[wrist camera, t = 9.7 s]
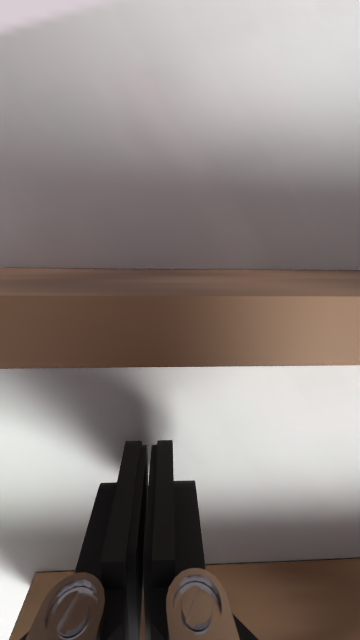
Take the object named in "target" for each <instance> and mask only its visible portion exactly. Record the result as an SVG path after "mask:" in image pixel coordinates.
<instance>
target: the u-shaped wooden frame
mask: <svg viewBox="0 0 360 640" xmlns="http://www.w3.org/2000/svg"><path fill="white" fill-rule="evenodd" d="M319 365H360V271H359V270H227V269H95V268H0V369H8V368H111V367H215V366H319ZM205 570H207V571H209V572H210V573H211V574H213V575H214V576H216V578H217V579H218V580H219V581H220V583H221V584H222V586H223V588H224V590H225V592H226V595H227V598H228V601H229V605H230V608H231V612H232V613H233V614H234V615H235V616H236V617H237V618H238V619H239V620H240V621H241V622H242V623H243V624H244V625H245V626H246V627H247V628H248V629H249V630H250V631H251V632H252V633H253V634H254V635H255V636H256V637H257V639H258V640H360V558H356V559H334V560H311V561H289V562H267V563H244V564H222V565H205ZM72 574H75V571H66V572H44V573H35V575H34V578H33V580H32V583H31V586H30V588H29V591H28V593H27V596H26V598H25V601H24V603H23V606H22V608H21V611H20V613H19V616H18V618H17V621H16V623H15V626H14V628H13V631H12V633H11V636H10V638H9V640H20V639H21V638H22V637H23V636H24V635H25V634H26V633H27V632H28V631H29V630H30V628H31V626H32V624H33V622H34V620H35V618H36V615H37V613H38V611H39V609H40V607H41V605H42V603H43V601H44V600H45V598H46V596H47V595H48V593H49V592H50V591H51V589H52V588H53V587H54V586H55V585H56V584H57V583H58V582H60V581H61V580H63V579H64V578H65V577H67V576H69V575H72ZM139 640H145V617H144V586H143V597H142V611H141V625H140V639H139Z"/></svg>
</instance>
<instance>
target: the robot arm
mask: <svg viewBox="0 0 360 640" xmlns="http://www.w3.org/2000/svg"><path fill="white" fill-rule="evenodd" d="M143 586H144V617H145V640H258V639H257V637H256V636H255V635H254V634H253V633H252V632H251V631H250V630H249V629H248V628H247V627H246V626H245V625H244V624H243V623H242V622H241V621H240V620H239V619H238V618H237V617H236V616H235V615H234V614H233V613H232V612H231V608H230V605H229V601H228V598H227V595H226V592H225V590H224V588H223V586H222V584H221V583H220V581H219V580H218V579H217V578H216V576H214V575H213V574H211V573H210V572H209V571H207V570H205V562H204V553H203V545H202V536H201V528H200V519H199V510H198V502H197V493H196V485H195V481H173V443H172V440H160V441H158V443H157V445H152V447H151V459H150V472H149V485H148V457H147V445H142V442H141V441H126V443H125V448H124V452H123V457H122V462H121V466H120V471H119V476H118V481H117V483H101V484H100V486H99V489H98V492H97V496H96V499H95V503H94V506H93V510H92V513H91V517H90V520H89V524H88V528H87V531H86V535H85V538H84V542H83V545H82V549H81V552H80V556H79V559H78V563H77V566H76V570H75V574H72V575H69V576H67V577H65V578H64V579H63V580H61V581H60V582H58V583H57V584H56V585H55V586H54V587H53V588H52V589H51V591H50V592H49V593H48V595H47V596H46V598H45V600H44V601H43V603H42V605H41V607H40V609H39V611H38V613H37V615H36V618H35V620H34V622H33V624H32V626H31V628H30V630H29V631H28V632H27V633H26V634H25V635H24V636H23V637H22V638H21V639H20V640H139V639H140V625H141V611H142V597H143Z"/></svg>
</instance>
